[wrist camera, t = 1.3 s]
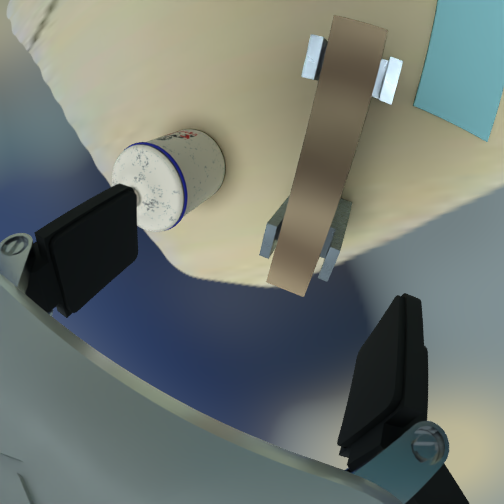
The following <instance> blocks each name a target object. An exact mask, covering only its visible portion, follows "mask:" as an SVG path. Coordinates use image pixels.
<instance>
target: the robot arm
mask: <svg viewBox="0 0 504 504" xmlns="http://www.w3.org/2000/svg"><path fill="white" fill-rule="evenodd" d="M35 236H36V241H37V242H35V243H34V244H33V240H32V238H31V236H29V235H28V234H25V233H18V234H14V235H11V236H9V237H7V238H6V239H4V240H3V241H2V242H1V243H0V504H469V502H468V500H467V499H466V497H465V496H464V494H463V492H462V491H461V489H460V488H459V486H458V484H457V483H456V481H455V480H454V478H453V477H452V475H451V473H450V472H449V470H448V469H447V467H446V466H445V464H444V462H445V461H446V459H447V457H448V453H449V442H448V438H447V435H446V434H445V432H444V430H443V429H442V428H441V427H440V426H439V425H437V424H435V423H433V422H431V421H427V408H428V352H427V348H426V347H425V346H424V337H423V318H422V306H421V300H420V299H418V298H416V297H413V296H411V295H408V294H406V293H404V294H403V295H402V296H398V295H397V296H396V297H395V298H394V300H393V301H392V303H391V305H390V306H389V308H388V309H387V311H386V312H385V314H384V315H383V317H382V318H381V320H380V321H379V323H378V324H377V326H376V327H375V329H374V330H373V332H372V333H371V335H370V336H369V337H368V339H367V340H366V342H365V343H364V344H363V346H362V347H361V349H360V351H359V353H358V356H357V359H356V365H355V370H354V375H353V379H352V384H351V389H350V393H349V398H348V402H347V406H346V410H345V414H344V418H343V423H342V426H341V430H340V434H339V437H338V442H337V444H338V445H339V446H341V450H340V453H339V455H340V456H344V457H347V458H349V459H348V463H347V465H348V467H349V468H347V469H346V470H342V469H339V468H336V467H333V466H330V465H328V464H325V463H322V462H319V461H316V460H314V459H311V458H308V457H305V456H302V455H299V454H296V453H294V452H291V451H288V450H286V449H283V448H280V447H278V446H275V445H273V444H270V443H268V442H265V441H263V440H260V439H258V438H256V437H253V436H251V435H248V434H246V433H244V432H241V431H239V430H237V429H235V428H232V427H230V426H228V425H226V424H223V423H222V422H219V421H217V420H215V419H213V418H211V417H209V416H207V415H205V414H203V413H201V412H199V411H197V410H195V409H193V408H191V407H189V406H187V405H185V404H183V403H182V402H180V401H178V400H176V399H174V398H172V397H170V396H169V395H167V394H165V393H163V392H162V391H160V390H158V389H156V388H155V387H153V386H151V385H150V384H148V383H146V382H145V381H143V380H141V379H140V378H138V377H136V376H135V375H133V374H131V373H130V372H128V371H127V370H125V369H124V368H122V367H121V366H119V365H117V364H116V363H114V362H113V361H111V360H110V359H108V358H107V357H105V356H104V355H103V354H101V353H100V352H98V351H97V350H95V349H94V348H93V347H91V346H89V345H88V344H87V343H85V342H84V341H83V340H81V339H80V338H79V337H77V336H76V335H75V334H73V333H72V332H71V331H69V330H68V329H67V328H65V327H64V326H63V325H62V324H60V323H59V322H58V321H57V320H55V319H54V318H53V317H52V313H53V308H54V307H57V310H58V311H59V312H60V313H61V314H62V315H64V316H65V317H66V318H67V317H68V316H70V315H71V314H72V313H75V312H77V311H78V310H79V309H81V308H82V307H83V306H84V305H85V304H86V303H87V302H88V301H89V300H90V299H91V298H93V297H94V296H95V295H96V294H97V293H98V292H99V291H100V290H101V289H103V288H104V287H105V286H106V285H107V284H108V283H109V282H111V280H113V279H114V278H115V277H116V276H117V275H119V274H120V273H121V272H122V271H123V270H124V269H125V268H126V267H128V266H129V265H130V264H131V263H133V261H135V259H136V258H137V255H138V240H137V195H136V194H135V191H134V189H133V188H132V187H129V186H126V185H123V184H120V183H119V184H116V185H115V186H113V187H111V188H109V189H107V190H105V191H103V192H102V193H100V194H98V195H96V196H95V197H92V198H91V199H89V200H87V201H86V202H84V203H82V204H80V205H78V206H77V207H75V208H73V209H72V210H70V211H68V212H67V213H65V214H63V215H62V216H60V217H59V218H57V219H55V220H54V221H52V222H50V223H49V224H47V225H46V226H44V227H43V228H41V229H40V230H38V231H37V232H35Z"/></svg>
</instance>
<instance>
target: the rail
mask: <svg viewBox="0 0 504 504" xmlns="http://www.w3.org/2000/svg"><path fill="white" fill-rule="evenodd" d="M387 33H388V30H387V29H384V28H381V27H377V26H374V25H371V24H367V23H364V22H360V21H357V20H353V19H349V18H345V17H341V16H337V15H334V17H333V22H332V26H331V30H330V35H329V39H328V44H327V48H326V52H325V56H324V61H323V65H322V69H321V73H320V78H319V82H318V86H317V90H316V94H315V98H314V102H313V106H312V110H311V115H310V119H309V123H308V127H307V131H306V135H305V139H304V142H303V146H302V150H301V154H300V158H299V162H298V166H297V170H296V174H295V178H294V181H293V185H292V189H291V193H290V197H289V200H288V204H287V208H286V212H285V215H284V219H283V223H282V227H281V230H280V234H279V238H278V241H277V245H276V249H275V252H274V256H273V260H272V263H271V267H270V270H269V274H268V278H267V281H266V282H267V283H270V284H272V285H275V286H277V287H280V288H282V289H285V290H287V291H290V292H292V293H295V294H297V295H300V296H303V297H304V294H305V292H306V290H307V287H308V285H309V282H310V279H311V277H312V275H313V272H314V269H315V267H316V264H317V262H318V259H319V256H320V254H321V251H322V248H323V245H324V243H325V240H326V237H327V235H328V232H329V229H330V226H331V223H332V221H333V218H334V215H335V212H336V209H337V206H338V203H339V200H340V198H341V195H342V192H343V189H344V186H345V183H346V180H347V177H348V173H349V170H350V167H351V164H352V161H353V158H354V155H355V151H356V148H357V145H358V142H359V138H360V135H361V132H362V128H363V125H364V122H365V118H366V115H367V111H368V108H369V104H370V100H371V97H372V93H373V89H374V86H375V82H376V78H377V74H378V70H379V67H380V63H381V59H382V54H383V50H384V46H385V42H386V37H387Z"/></svg>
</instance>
